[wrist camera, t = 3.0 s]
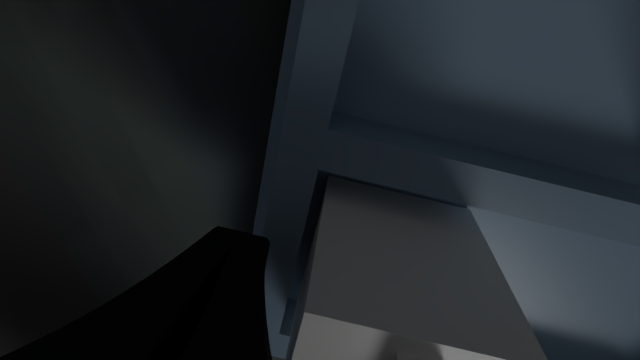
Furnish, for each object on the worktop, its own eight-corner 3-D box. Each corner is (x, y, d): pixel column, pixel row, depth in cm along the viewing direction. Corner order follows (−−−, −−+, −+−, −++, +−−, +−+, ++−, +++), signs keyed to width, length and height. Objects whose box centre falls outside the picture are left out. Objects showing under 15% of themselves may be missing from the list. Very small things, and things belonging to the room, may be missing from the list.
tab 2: (421, 313, 12) (464, 535, 7) (300, 284, 12) (258, 488, 7) (470, 209, 10) (572, 407, 5) (328, 175, 10) (299, 343, 5)
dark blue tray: (748, 406, 14) (829, 492, 12) (247, 289, 14) (224, 350, 11) (1231, -1, 8) (1616, 0, 5) (336, -226, 8) (326, -328, 5)
